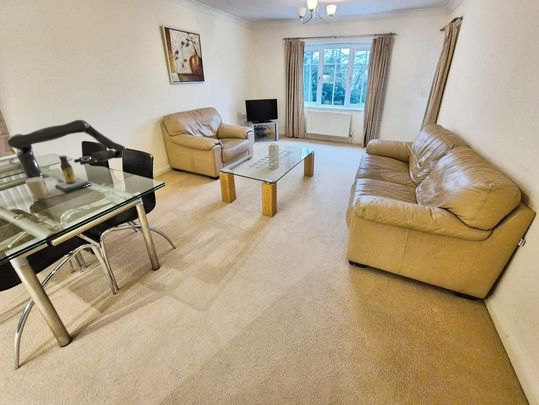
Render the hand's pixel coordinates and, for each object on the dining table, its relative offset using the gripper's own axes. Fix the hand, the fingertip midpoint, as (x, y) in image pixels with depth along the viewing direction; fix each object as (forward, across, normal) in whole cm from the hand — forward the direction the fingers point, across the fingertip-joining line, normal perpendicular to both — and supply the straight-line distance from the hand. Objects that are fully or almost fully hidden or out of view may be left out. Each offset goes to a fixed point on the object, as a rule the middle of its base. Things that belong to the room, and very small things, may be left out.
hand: (77, 162), depth 181 cm
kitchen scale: (+8, +1, +16) cm, 18 cm away
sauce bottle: (+8, 0, +13) cm, 15 cm away
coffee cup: (+27, -1, +16) cm, 31 cm away
